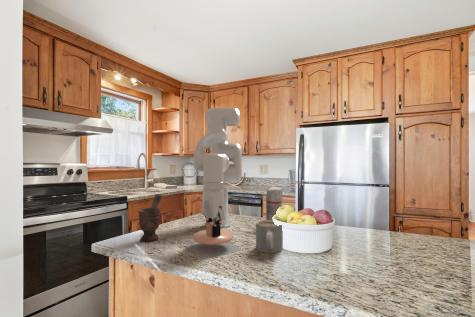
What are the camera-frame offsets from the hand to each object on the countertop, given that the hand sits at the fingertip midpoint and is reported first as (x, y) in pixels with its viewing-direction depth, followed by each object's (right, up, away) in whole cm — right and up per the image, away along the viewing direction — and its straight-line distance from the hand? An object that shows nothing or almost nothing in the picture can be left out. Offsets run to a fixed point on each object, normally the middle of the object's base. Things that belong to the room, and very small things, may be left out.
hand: (213, 234), depth 99 cm
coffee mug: (+21, -6, -2) cm, 21 cm away
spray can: (+28, -6, +33) cm, 44 cm away
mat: (0, -5, -1) cm, 5 cm away
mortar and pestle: (-26, -6, +8) cm, 28 cm away
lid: (0, -1, 0) cm, 1 cm away
